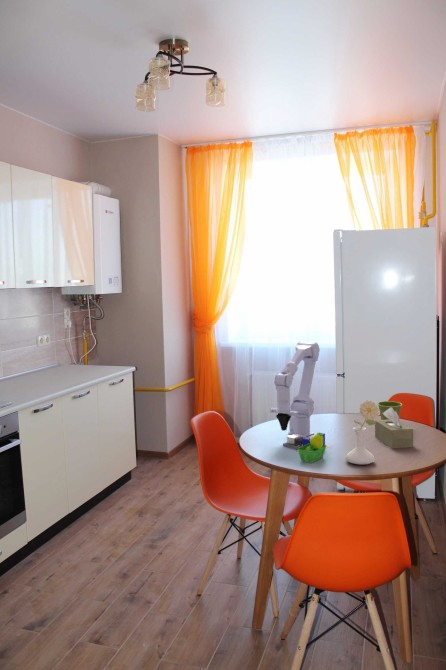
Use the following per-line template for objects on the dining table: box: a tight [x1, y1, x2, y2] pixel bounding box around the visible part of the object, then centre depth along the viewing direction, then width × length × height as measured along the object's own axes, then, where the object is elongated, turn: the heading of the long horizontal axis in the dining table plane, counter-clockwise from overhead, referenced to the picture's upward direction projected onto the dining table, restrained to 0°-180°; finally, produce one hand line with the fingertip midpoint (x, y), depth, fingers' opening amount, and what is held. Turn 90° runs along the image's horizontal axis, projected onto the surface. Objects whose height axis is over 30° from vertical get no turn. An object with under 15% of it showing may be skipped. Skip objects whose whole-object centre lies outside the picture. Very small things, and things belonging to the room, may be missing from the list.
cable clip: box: [302, 432, 326, 446], centre depth 236 cm, size 12×4×6 cm, turn 134°
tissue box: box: [374, 407, 414, 449], centre depth 243 cm, size 19×10×16 cm, turn 7°
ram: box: [286, 434, 304, 447], centre depth 243 cm, size 5×6×4 cm
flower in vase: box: [344, 400, 380, 465], centre depth 216 cm, size 13×11×25 cm
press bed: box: [282, 441, 331, 453], centre depth 240 cm, size 17×15×1 cm
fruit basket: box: [297, 432, 327, 464], centre depth 222 cm, size 11×9×11 cm
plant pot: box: [376, 400, 403, 420], centre depth 270 cm, size 12×12×11 cm
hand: (284, 430), depth 247 cm, fingers closed
